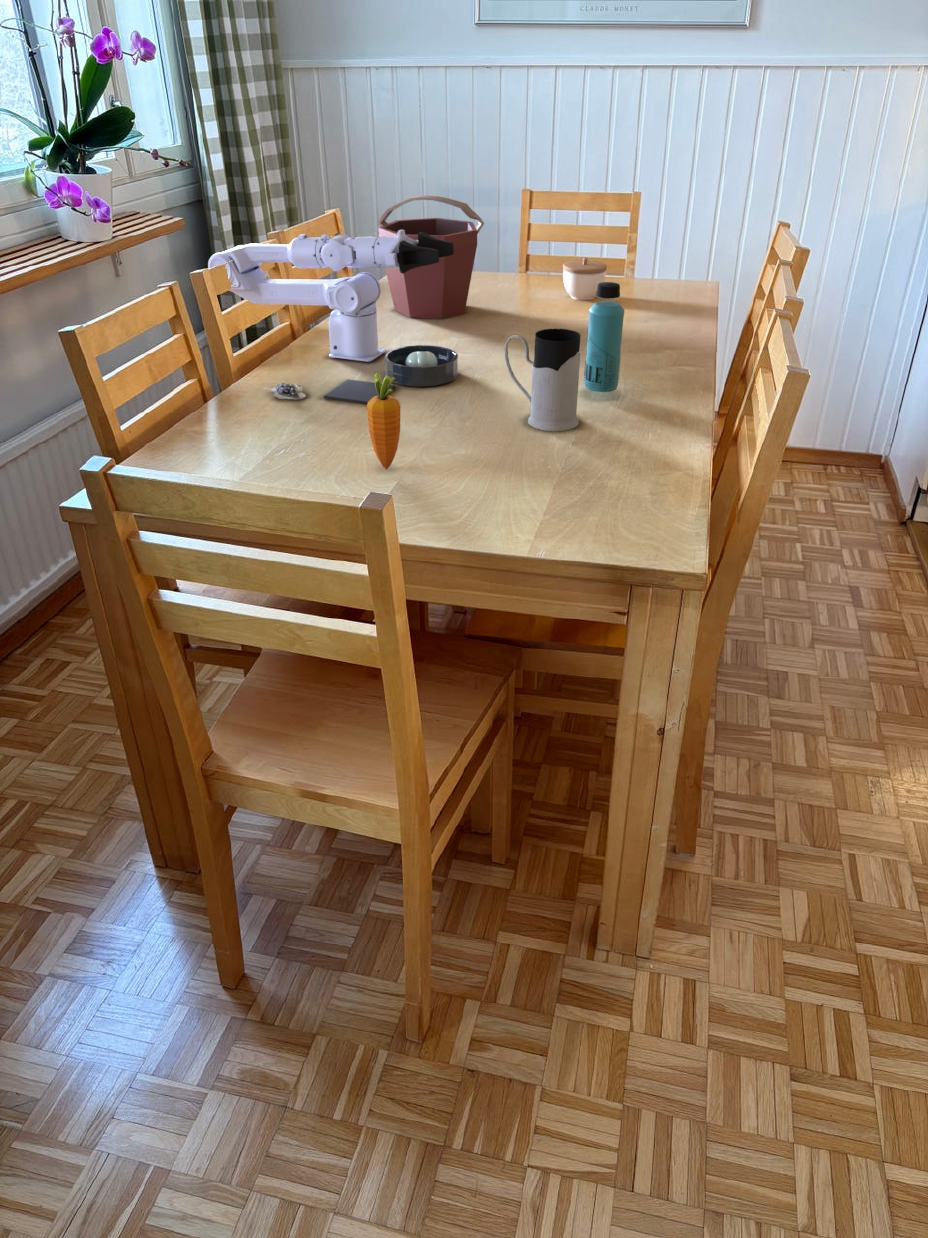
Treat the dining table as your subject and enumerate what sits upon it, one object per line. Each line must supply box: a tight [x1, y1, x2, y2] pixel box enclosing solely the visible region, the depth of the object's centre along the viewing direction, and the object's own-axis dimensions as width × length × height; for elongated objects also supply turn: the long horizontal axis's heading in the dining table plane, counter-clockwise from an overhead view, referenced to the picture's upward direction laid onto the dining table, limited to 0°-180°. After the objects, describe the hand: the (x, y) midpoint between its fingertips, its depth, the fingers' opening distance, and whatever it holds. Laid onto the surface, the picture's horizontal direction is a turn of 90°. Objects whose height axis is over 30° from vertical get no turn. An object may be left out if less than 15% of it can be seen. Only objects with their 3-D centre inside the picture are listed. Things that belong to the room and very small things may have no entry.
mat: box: [323, 378, 397, 405], centre depth 174 cm, size 10×10×1 cm
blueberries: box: [270, 382, 307, 401], centre depth 173 cm, size 7×8×2 cm
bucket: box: [378, 195, 485, 320], centre depth 217 cm, size 24×22×25 cm
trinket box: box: [562, 257, 608, 301], centre depth 232 cm, size 11×11×9 cm
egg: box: [406, 351, 438, 367], centre depth 181 cm, size 6×4×4 cm
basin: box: [384, 344, 459, 388], centre depth 181 cm, size 14×14×4 cm
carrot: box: [366, 372, 401, 470], centre depth 141 cm, size 5×5×15 cm
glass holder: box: [504, 328, 582, 432], centre depth 159 cm, size 9×14×15 cm, turn 58°
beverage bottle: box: [583, 281, 626, 393], centre depth 168 cm, size 6×7×20 cm
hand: (445, 252), depth 176 cm, fingers open, 7 cm apart
